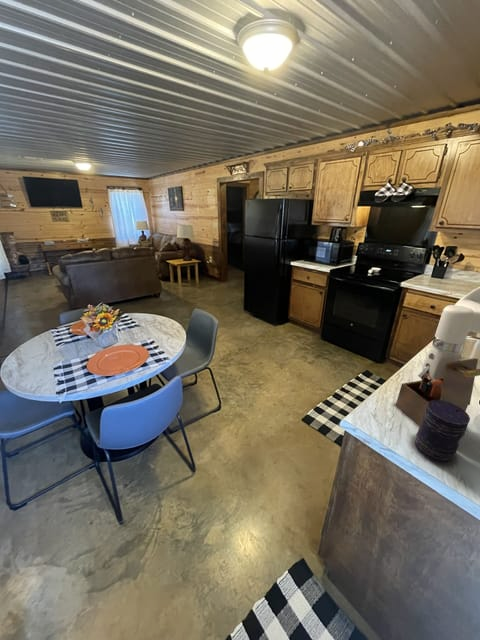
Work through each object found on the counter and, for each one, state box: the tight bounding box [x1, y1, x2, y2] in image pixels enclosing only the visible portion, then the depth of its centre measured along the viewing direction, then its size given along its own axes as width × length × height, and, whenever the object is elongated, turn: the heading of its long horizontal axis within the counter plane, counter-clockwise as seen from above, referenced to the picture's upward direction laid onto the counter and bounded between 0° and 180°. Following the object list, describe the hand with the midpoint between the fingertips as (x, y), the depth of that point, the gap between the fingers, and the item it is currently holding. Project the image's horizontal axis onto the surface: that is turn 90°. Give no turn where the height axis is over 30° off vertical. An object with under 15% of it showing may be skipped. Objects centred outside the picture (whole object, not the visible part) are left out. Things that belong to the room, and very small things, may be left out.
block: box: [420, 376, 443, 397], centre depth 89 cm, size 5×5×5 cm
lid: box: [440, 357, 480, 407], centre depth 79 cm, size 16×12×5 cm
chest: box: [395, 379, 469, 427], centre depth 91 cm, size 15×12×10 cm
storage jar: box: [413, 400, 471, 465], centre depth 77 cm, size 10×10×15 cm
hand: (431, 390), depth 90 cm, fingers closed on block, 4 cm apart
